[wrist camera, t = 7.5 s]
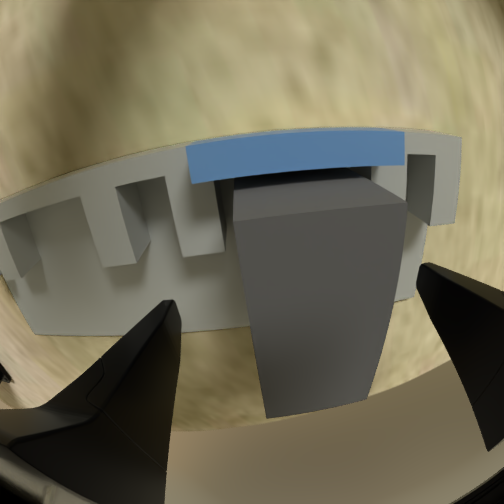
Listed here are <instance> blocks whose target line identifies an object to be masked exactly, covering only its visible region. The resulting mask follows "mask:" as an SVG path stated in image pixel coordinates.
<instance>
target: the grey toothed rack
mask: <svg viewBox="0 0 504 504" xmlns="http://www.w3.org/2000/svg"><path fill="white" fill-rule="evenodd" d="M461 147H462V137H458V136H454V135H450V134H445V133H440V132H435V131H430V130H420V129H406V128H388V127H316V128H297V129H283V130H271V131H261V132H252V133H243V134H236V135H228V136H221V137H215V138H208V139H202V140H196V141H191V142H185V143H180V144H175V145H170V146H165V147H161V148H156V149H152V150H147V151H143V152H139V153H135V154H131V155H127V156H123V157H119V158H116V159H112V160H109V161H105V162H102V163H98V164H95V165H92V166H88V167H85V168H82V169H79V170H76V171H73V172H70V173H67V174H64V175H61V176H58V177H56V178H53V179H50V180H47V181H45V182H42V183H40V184H37V185H35V186H32V187H30V188H27V189H25V190H22V191H20V192H18V193H15V194H13V195H11V196H8V197H6V198H4V199H2V200H0V275H1V274H2V275H3V277H4V279H5V281H6V283H7V285H8V287H9V289H10V291H11V293H12V295H13V297H14V299H15V301H16V303H17V305H18V307H19V309H20V310H21V312H22V314H23V316H24V317H25V319H26V321H27V323H28V324H29V326H30V328H31V329H32V331H33V332H34V334H37V335H65V336H117V335H125V334H126V333H127V332H128V331H129V330H130V329H132V328H133V327H134V326H135V325H136V324H137V323H138V322H139V321H140V320H141V319H142V318H144V317H145V316H146V315H147V314H148V313H149V312H150V311H151V310H152V309H153V308H155V307H156V306H157V305H158V304H159V303H160V302H161V301H162V300H170V299H173V300H175V302H176V305H177V308H178V311H179V314H180V317H181V321H182V329H181V333H182V332H195V331H207V330H218V329H228V328H237V327H246V326H250V323H249V317H248V311H247V305H246V299H245V293H244V287H243V281H242V275H241V269H240V263H239V257H238V250H237V244H236V238H235V232H234V225H233V200H234V178H236V177H243V176H251V175H260V174H269V173H278V172H288V171H299V170H311V169H324V168H340V167H346V168H348V169H350V170H352V171H354V172H356V173H358V174H360V175H361V176H363V177H365V178H367V179H369V180H371V181H372V182H374V183H376V184H378V185H379V186H381V187H383V188H385V189H386V190H388V191H390V192H392V193H393V194H395V195H397V196H398V197H400V198H402V199H403V200H405V201H406V202H408V210H407V221H406V230H405V239H404V247H403V254H402V261H401V267H400V273H399V279H398V284H397V290H396V295H395V300H394V302H395V301H399V300H403V299H408V298H412V297H414V294H415V290H416V280H417V275H418V270H419V266H420V265H421V262H422V257H423V251H424V245H425V239H426V233H427V225H429V226H436V225H444V224H452V223H455V216H456V209H457V202H458V193H459V183H460V169H461Z"/></svg>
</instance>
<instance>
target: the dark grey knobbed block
mask: <svg viewBox="0 0 504 504" xmlns="http://www.w3.org/2000/svg"><path fill="white" fill-rule="evenodd" d="M407 210H408V202H406V201H405V200H403V199H402V198H400V197H398V196H397V195H395V194H393V193H392V192H390V191H388V190H386V189H385V188H383V187H381V186H379V185H378V184H376V183H374V182H372V181H371V180H369V179H367V178H365V177H363V176H361V175H360V174H358V173H356V172H354V171H352V170H350V169H348V168H346V167H340V168H324V169H311V170H299V171H288V172H278V173H269V174H260V175H251V176H243V177H236V178H234V200H233V225H234V232H235V238H236V244H237V250H238V257H239V263H240V269H241V275H242V281H243V287H244V293H245V299H246V305H247V311H248V317H249V323H250V329H251V334H252V340H253V346H254V352H255V357H256V363H257V369H258V374H259V380H260V385H261V391H262V396H263V402H264V407H265V413H266V418H275V417H283V416H290V415H296V414H302V413H308V412H313V411H318V410H323V409H328V408H333V407H337V406H342V405H346V404H350V403H354V402H358V401H362V400H365V399H367V396H368V393H369V391H370V388H371V385H372V382H373V379H374V376H375V372H376V369H377V366H378V363H379V359H380V356H381V353H382V349H383V345H384V342H385V338H386V334H387V330H388V326H389V322H390V318H391V313H392V309H393V304H394V300H395V295H396V290H397V284H398V279H399V273H400V267H401V261H402V254H403V247H404V239H405V230H406V221H407Z"/></svg>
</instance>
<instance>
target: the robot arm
mask: <svg viewBox="0 0 504 504" xmlns="http://www.w3.org/2000/svg"><path fill="white" fill-rule="evenodd" d="M416 288H417V290H418V292H419V294H420V297H421V299H422V301H423V303H424V306H425V308H426V310H427V312H428V315H429V317H430V319H431V321H432V323H433V325H434V327H435V328H436V330H437V332H438V334H439V336H440V338H441V340H442V342H443V344H444V346H445V348H446V350H447V352H448V354H449V356H450V358H451V360H452V362H453V364H454V366H455V368H456V370H457V373H458V375H459V377H460V379H461V382H462V384H463V386H464V388H465V391H466V393H467V396H468V398H469V401H470V403H471V405H472V408H473V411H474V414H475V417H476V419H477V422H478V425H479V428H480V431H481V434H482V437H483V439H484V443H485V446H486V449H487V451H488V452H489V451H490V450H492V449H493V448H494V447H496V446H497V445H499V444H500V443H501V442H503V441H504V292H503V291H500V290H499V289H496V288H494V287H491V286H489V285H487V284H484V283H482V282H479V281H477V280H474V279H472V278H469V277H467V276H464V275H462V274H459V273H457V272H454V271H451V270H449V269H446V268H444V267H441V266H438V265H436V264H433V263H430V262H428V263H423V264H421V265H420V266H419V270H418V275H417V280H416ZM181 329H182V321H181V317H180V314H179V311H178V308H177V305H176V302H175V300H173V299H170V300H162V301H161V302H160V303H159V304H158V305H157V306H156V307H155V308H153V309H152V310H151V311H150V312H149V313H148V314H147V315H146V316H145V317H144V318H142V319H141V320H140V321H139V322H138V323H137V324H136V325H135V326H134V327H133V328H132V329H130V330H129V331H128V332H127V333H126V334H125V335H124V336H123V337H122V338H121V339H120V340H119V341H117V342H116V343H115V344H114V345H113V346H112V347H111V348H110V349H109V350H108V351H107V352H106V353H105V354H104V355H102V357H101V358H102V359H101V358H99V359H98V360H97V361H96V362H95V363H94V364H93V365H92V366H91V367H90V368H88V369H87V370H86V371H85V372H84V373H83V374H82V375H81V376H79V377H78V378H77V379H76V380H74V381H73V382H72V383H71V384H70V385H68V386H67V387H66V388H65V389H63V390H62V391H61V392H60V393H58V394H57V395H56V396H55V397H53V398H52V399H51V400H50V401H48V402H47V403H45V404H43V405H41V406H39V407H35V408H28V409H0V504H164V501H165V487H166V474H167V472H166V471H167V462H168V452H169V441H170V433H171V425H172V417H173V409H174V401H175V394H176V387H177V380H178V373H179V366H180V355H181ZM1 381H4V382H8V383H10V381H11V378H10V377H9V375H8V374H7V373H6V372H5V370H4V369H3V368H2V367H1V365H0V383H1ZM450 504H504V467H503V468H502V469H500V470H499V471H498V472H497V473H495V474H494V475H493V476H491V477H490V478H489V479H487V480H486V481H484V482H483V483H482V484H480V485H479V486H477V487H476V488H474V489H473V490H471V491H470V492H468V493H466V494H465V495H463V496H462V497H460V498H458V499H457V500H455V501H454V502H452V503H450Z"/></svg>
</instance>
